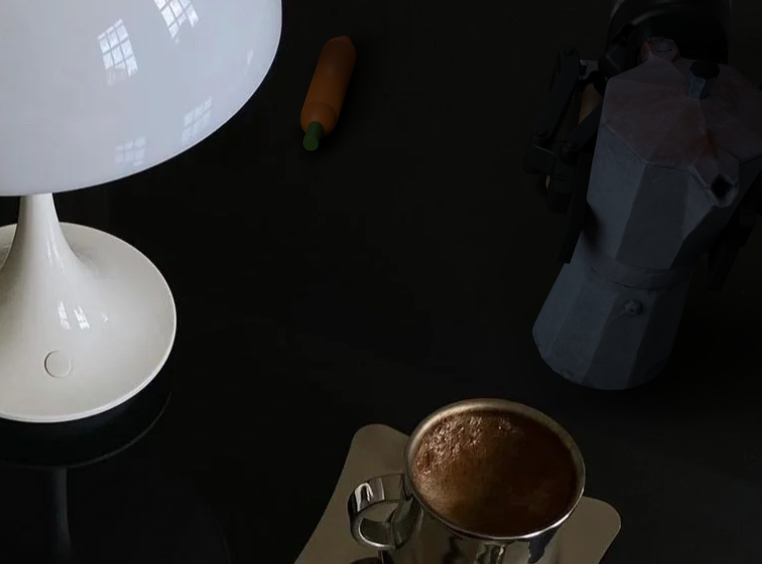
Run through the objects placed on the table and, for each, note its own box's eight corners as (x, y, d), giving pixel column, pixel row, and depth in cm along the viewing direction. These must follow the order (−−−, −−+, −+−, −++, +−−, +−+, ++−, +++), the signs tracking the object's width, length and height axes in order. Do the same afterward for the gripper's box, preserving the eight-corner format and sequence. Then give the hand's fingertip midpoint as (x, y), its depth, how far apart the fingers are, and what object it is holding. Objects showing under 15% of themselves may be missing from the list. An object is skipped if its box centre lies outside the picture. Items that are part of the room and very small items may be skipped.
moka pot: (567, 438, 81) (668, 153, 64) (486, 270, 89) (557, -24, 72) (713, 413, 82) (851, 126, 65) (621, 249, 90) (722, -46, 73)
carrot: (326, 46, 107) (330, 13, 105) (360, 52, 107) (365, 19, 104) (290, 157, 100) (294, 123, 97) (326, 163, 99) (331, 130, 97)
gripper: (805, 109, 88) (804, 343, 77) (496, 57, 90) (449, 276, 79) (857, -1, 82) (865, 236, 70) (524, -55, 84) (477, 166, 72)
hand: (645, 257), depth 74 cm, fingers closed on moka pot, 8 cm apart
